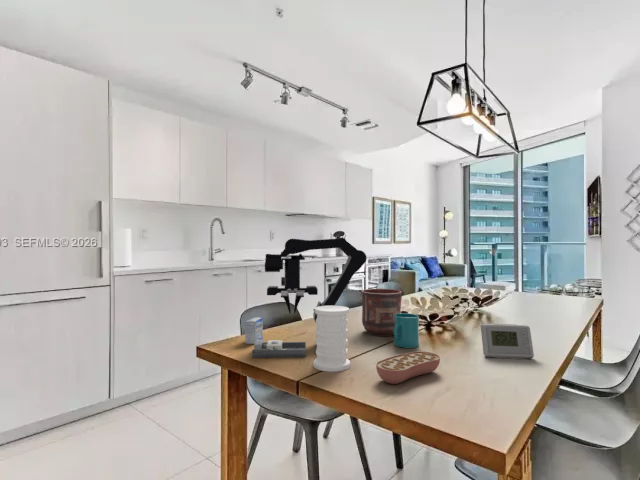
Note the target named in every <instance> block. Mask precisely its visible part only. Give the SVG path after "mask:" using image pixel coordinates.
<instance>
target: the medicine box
mask: <svg viewBox="0 0 640 480" xmlns="http://www.w3.org/2000/svg"><path fill="white" fill-rule="evenodd" d="M263 322H264V318H263V317H258V316H257V317H255V316H254V317H252V318H249V319H248V320H246V321H244V340H245V341H244V342H245V343H244V344H247V345H254V344H255V342H256V340H257V339H264V336H263V335H264V333H263V331H264V326H263V325H264V323H263Z"/></svg>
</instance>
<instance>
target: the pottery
mask: <svg viewBox="0 0 640 480" xmlns="http://www.w3.org/2000/svg"><path fill="white" fill-rule="evenodd" d="M402 297H403V292H402V291H401V290H400V289H399V290H398V289H391V288H368V289H367V288H366V289H362V290H361V306H362V311H361V322H362V326H363V328H364V330H365V331H366V332H367V334H370V335H372V336H377V337H388V336H394V315H395V314H399V313H402Z"/></svg>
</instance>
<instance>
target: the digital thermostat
mask: <svg viewBox="0 0 640 480" xmlns="http://www.w3.org/2000/svg"><path fill="white" fill-rule="evenodd" d="M480 333H481V342H482V352H483V356H484V357H487V358H495V359H512V358H515V360H517V359H519V360H523V359H533V358H534V357H535V353H534V347H533V339H532V334H531V333H532V332H531V328H530V326H529V325H527V324H513V323H512V324H509V323H504V324H503V323H482V324H481V325H480Z"/></svg>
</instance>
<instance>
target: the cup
mask: <svg viewBox="0 0 640 480" xmlns="http://www.w3.org/2000/svg"><path fill="white" fill-rule="evenodd" d="M419 320H420V317H419V315H418V314H415V313H407V312H404V313H403V312H401V313H399V314H395V315H394V335H393V338H394V339H393V340H394V341H393V343H394V345H395V346H396V347H399V348H403V349H404V348H405V349H413V348H417V347H418V346H419V345H420V343H419V342H420V336H419V335H420V330H419V327H420V326H419V323H420V321H419Z"/></svg>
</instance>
